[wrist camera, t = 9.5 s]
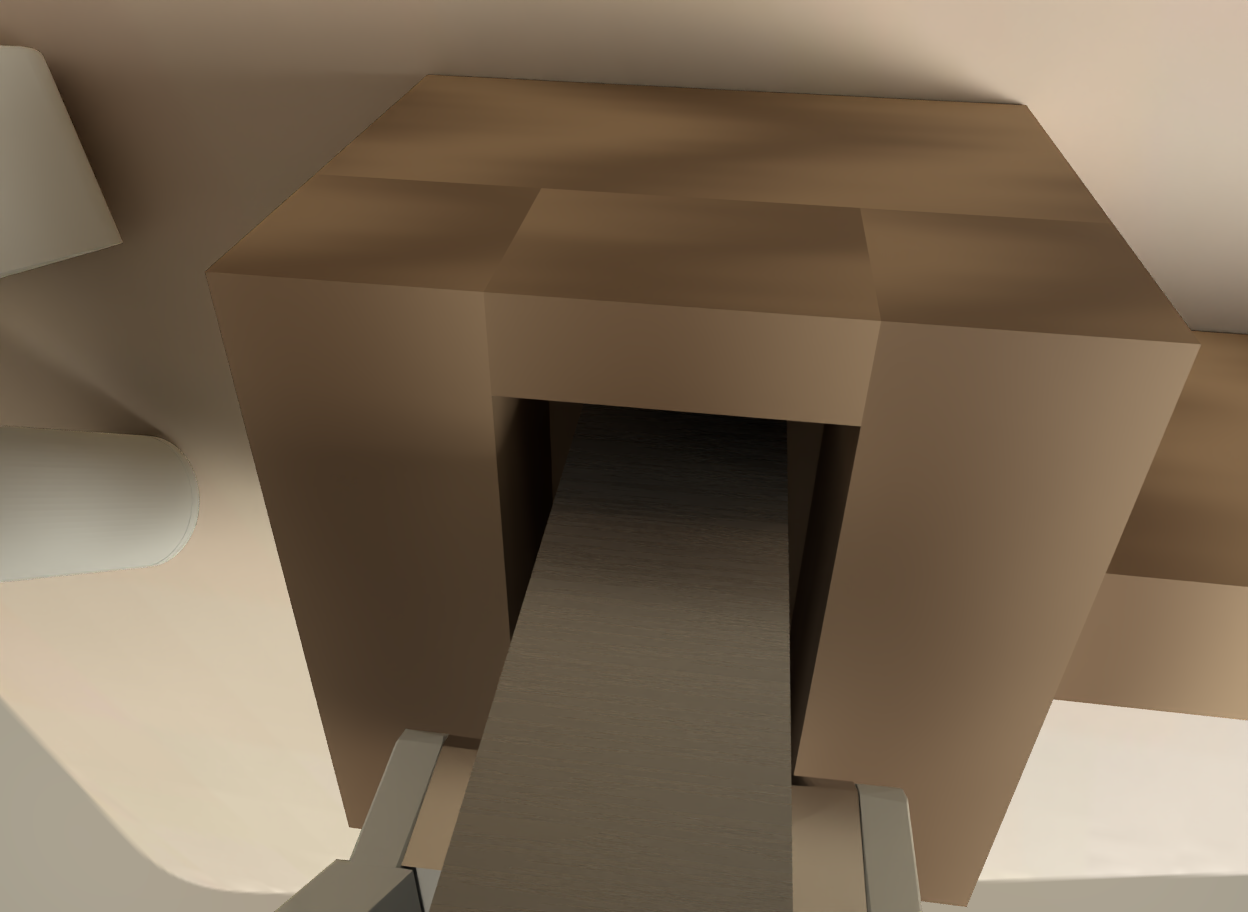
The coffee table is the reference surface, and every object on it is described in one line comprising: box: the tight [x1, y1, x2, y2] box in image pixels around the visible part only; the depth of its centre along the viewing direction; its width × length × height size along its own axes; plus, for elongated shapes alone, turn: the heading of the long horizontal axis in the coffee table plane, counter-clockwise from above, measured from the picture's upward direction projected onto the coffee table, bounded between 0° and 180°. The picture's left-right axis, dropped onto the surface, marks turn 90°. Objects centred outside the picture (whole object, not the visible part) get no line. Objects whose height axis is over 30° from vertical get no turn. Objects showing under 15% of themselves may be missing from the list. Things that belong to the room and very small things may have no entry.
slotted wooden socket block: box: [205, 75, 1248, 907], centre depth 15 cm, size 24×10×8 cm, turn 89°
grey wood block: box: [429, 403, 793, 912], centre depth 11 cm, size 2×6×10 cm, turn 179°
